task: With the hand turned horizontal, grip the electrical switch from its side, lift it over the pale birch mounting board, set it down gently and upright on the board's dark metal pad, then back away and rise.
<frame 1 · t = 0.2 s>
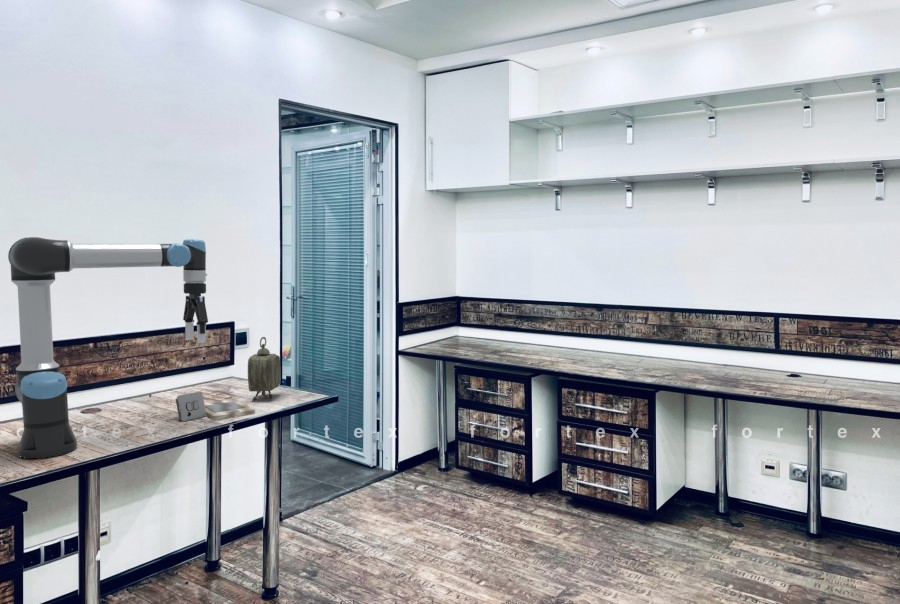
hand: (195, 341, 234), 27 cm above the table, tool pointing down, fingers open, 13 cm apart
mounting board: (224, 411, 243), on the table
electrical switch: (190, 418, 233), on the table
tabletop clock: (266, 398, 263), on the table
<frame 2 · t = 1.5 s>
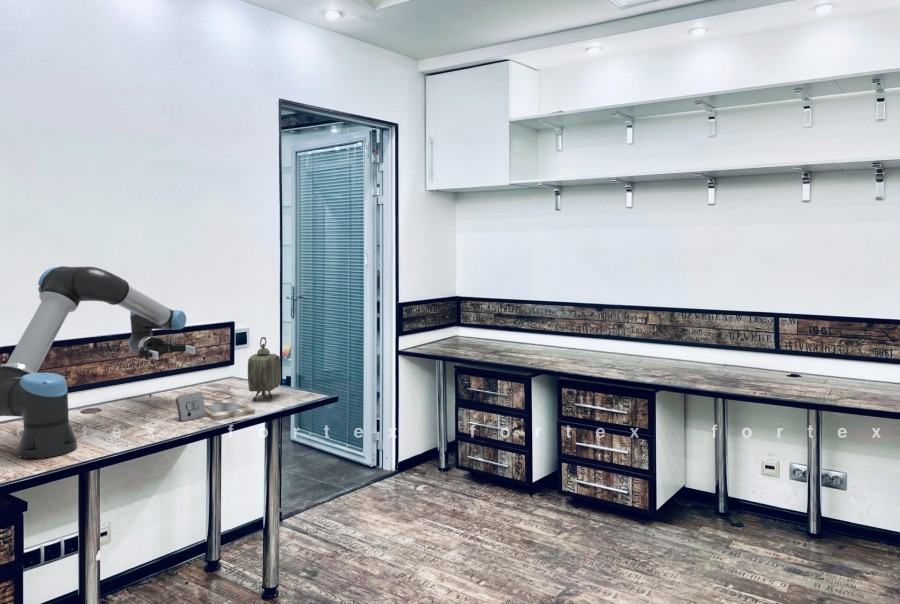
hand: (176, 353, 237), 23 cm above the table, tool horizontal, fingers open, 13 cm apart
nothing on the table moved.
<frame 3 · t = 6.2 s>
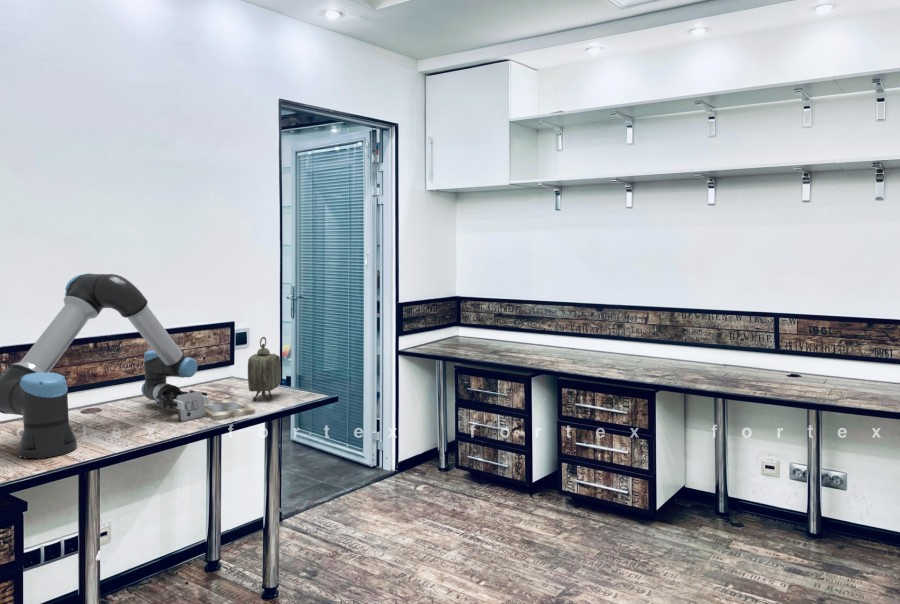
hand: (195, 403, 230), 6 cm above the table, tool horizontal, fingers closed on electrical switch, 9 cm apart
electrical switch: (190, 418, 233), on the table, touching gripper
everything else where it was.
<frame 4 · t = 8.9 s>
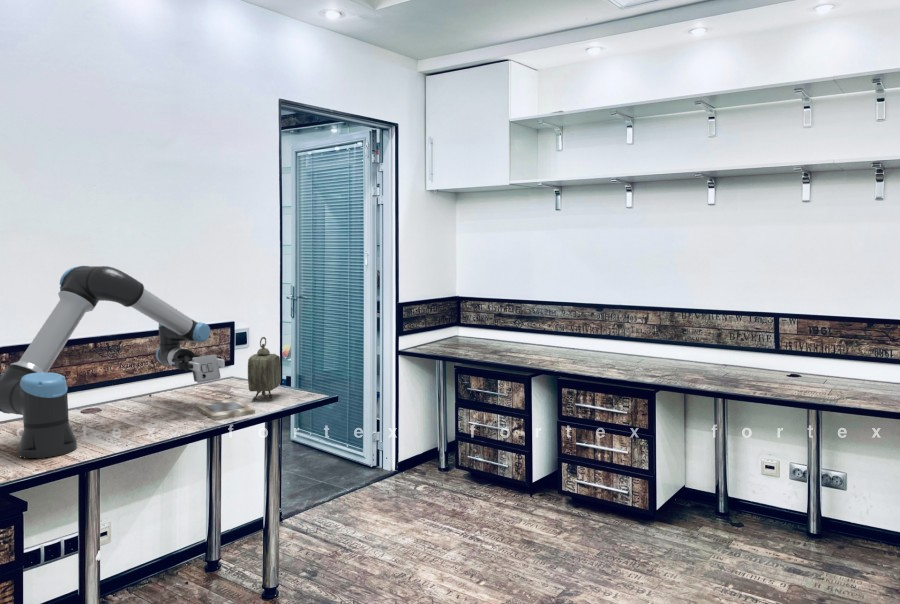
hand: (211, 365, 234), 19 cm above the table, tool horizontal, fingers closed on electrical switch, 9 cm apart
electrical switch: (205, 380, 237), point 12 cm above the table, touching gripper
everything else where it was.
when the fingers open (8 cm above the table, at t = 11.5 s): electrical switch moves 3 cm, resting on mounting board.
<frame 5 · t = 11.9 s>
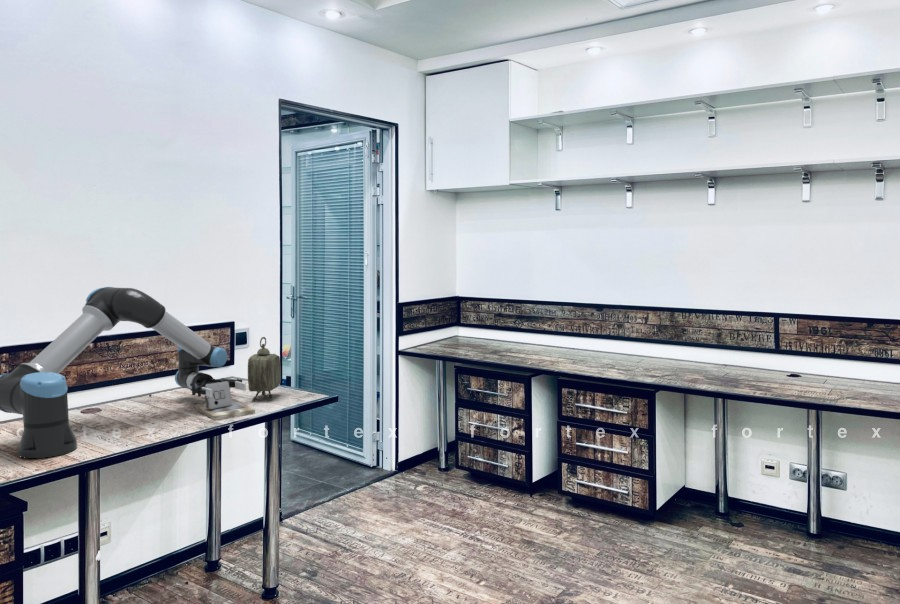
hand: (228, 390, 240), 8 cm above the table, tool horizontal, fingers open, 13 cm apart
electrical switch: (217, 407, 242), point 2 cm above the table, touching gripper, mounting board
everything else where it was.
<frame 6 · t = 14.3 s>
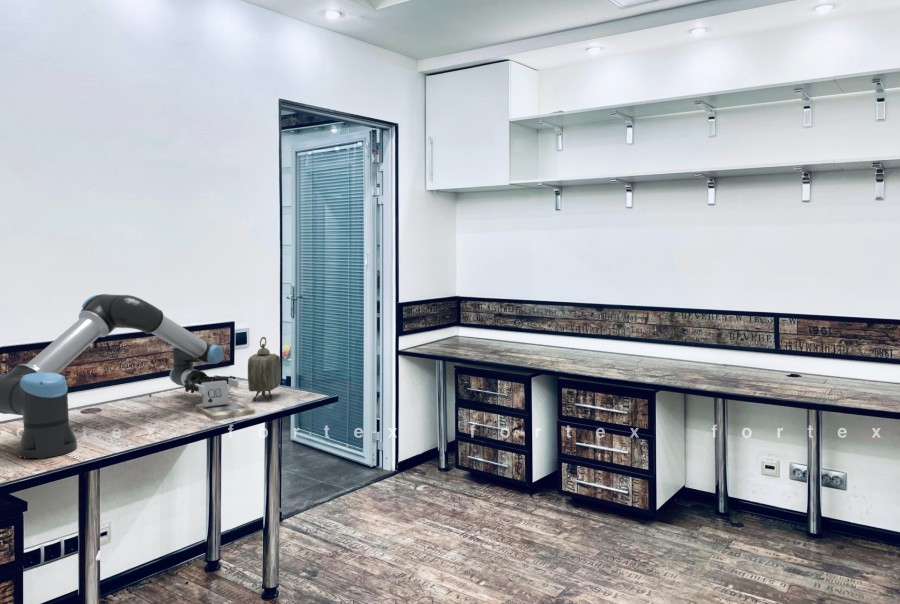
hand: (221, 386, 244), 9 cm above the table, tool horizontal, fingers open, 13 cm apart
electrical switch: (214, 406, 243), point 2 cm above the table, touching gripper, mounting board
everything else where it was.
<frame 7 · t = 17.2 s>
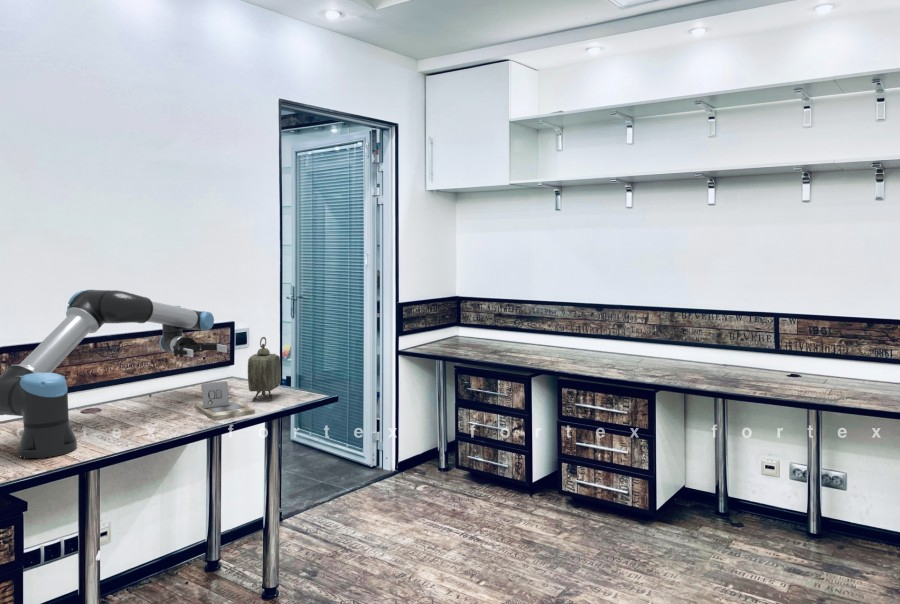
hand: (209, 351, 247), 22 cm above the table, tool horizontal, fingers open, 13 cm apart
electrical switch: (214, 406, 244), point 1 cm above the table, touching mounting board
everything else where it was.
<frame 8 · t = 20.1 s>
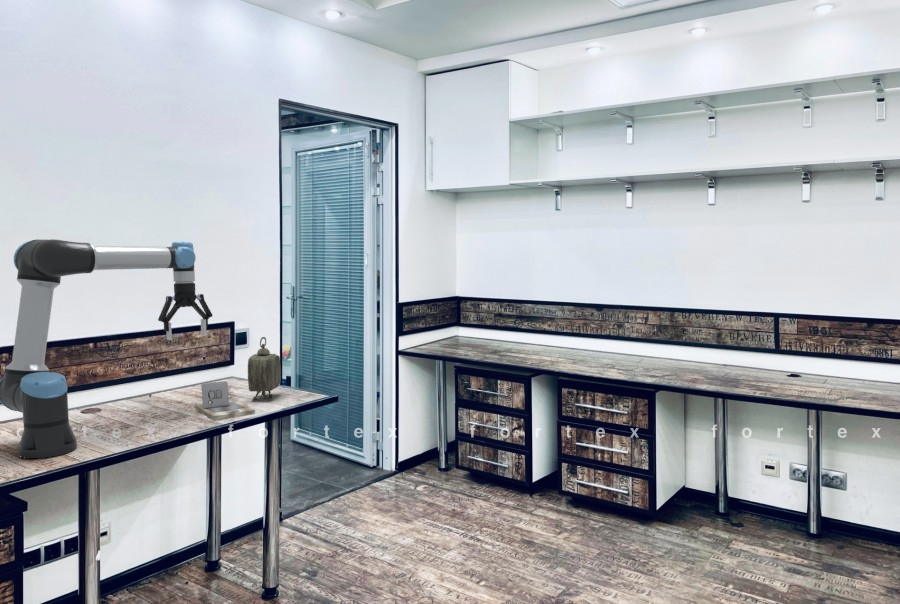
hand: (187, 337, 248), 27 cm above the table, tool pointing down, fingers open, 13 cm apart
nothing on the table moved.
at the end: electrical switch inside the target area (4.1 cm from its centre), point 1.5 cm above the table; electrical switch tilted 0°; the gripper is holding nothing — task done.
